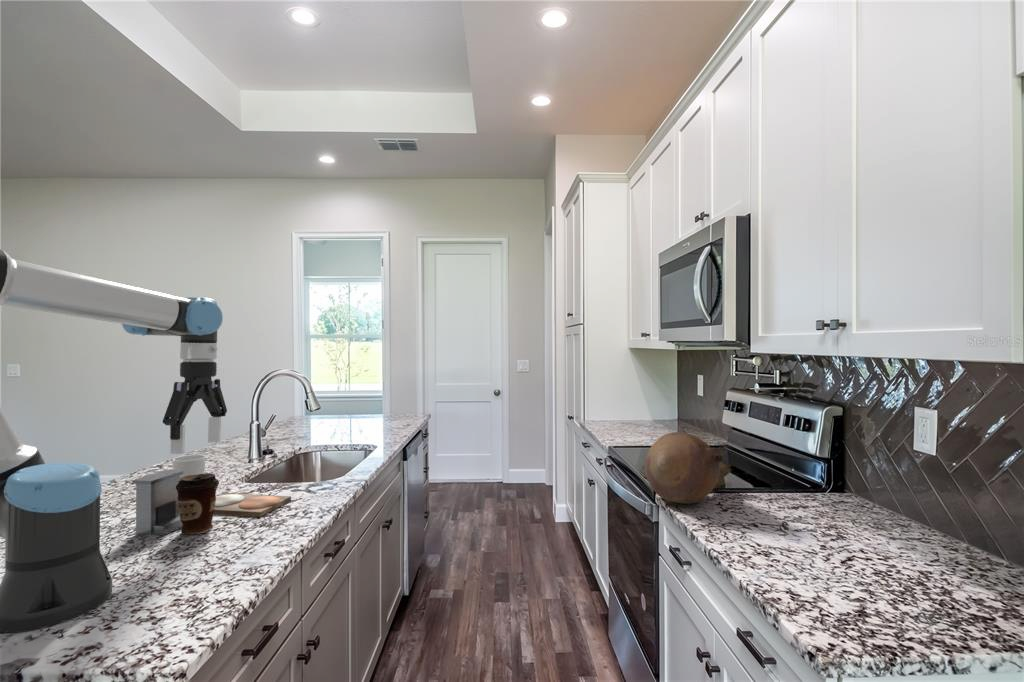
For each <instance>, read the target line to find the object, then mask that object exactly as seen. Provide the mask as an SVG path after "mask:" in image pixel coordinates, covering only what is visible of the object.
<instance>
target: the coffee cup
mask: <svg viewBox="0 0 1024 682" xmlns="http://www.w3.org/2000/svg"><path fill="white" fill-rule="evenodd" d="M219 484H220V480H219V479H218V478H216V474H215V473H211V472H209V473H204V474H198V475H187V476H184V477H182V478H180V481H179V483H178V484H177V485H176V489H177V492H178V505H179V514H180V520H181V522H182V524H183V527H181V528H180V533H181V534H182V535H199V534H202V533H203V534H204V533H208V532H210V531H212V530H213V529H214V526H213V518H214V514H213V513H214V511H215V502H216V496H217V495H216V493H217V488H218V487H219Z"/></svg>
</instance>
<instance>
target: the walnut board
mask: <svg viewBox="0 0 1024 682" xmlns="http://www.w3.org/2000/svg"><path fill="white" fill-rule="evenodd" d="M291 501H292V496H291V495H290V496H289V495H273V494H272V495H271V494H254V493H252V494H251V493H234V492H233V493H232V492H224V493H221V494H219V495H216V502H215V511H214V513H213V515H223V516H239V517H241V516H242V517H257V518H261V517H263V516H266V515H267V514H269V513H271V512H272V511H274V510H276V509H278V508H280V507H282V506H283V505H286V504H287V503H289V502H291Z"/></svg>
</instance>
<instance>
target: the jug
mask: <svg viewBox="0 0 1024 682" xmlns="http://www.w3.org/2000/svg"><path fill="white" fill-rule="evenodd" d="M723 459H724V454H723V450H722V449H720V448H718V447H711V446H710V445H709V444H708V443H707V442H706V441H704V439H701V438H700V437H697V436H695V435H693V434H691V433H686V432H683V431H681V432H680V431H676V432H675V431H674V432H669V433H666V434H664V435H662V436H660V437H659V438H658V439H657V440H656V441H655V442H654V443H653V444H652V445H651V446H650V448H649V450H648V452H647V454H646V457H645V465H644V469H643V470H642V471H641V475H642V478H643V479H644V480H645V479H646V480H647V481H648V484H649V485H650V487H651V489H652V490H653V492H654V493H656V494H657V495H658V497H660V498H662V499H663V500H665V501H668V502H670V503H671V502H672V503H676V504H684V505H685V504H686V505H689V504H695V503H696V504H697V503H699V502H701V501H702V500H704V499H705V498H706V497H707V496H708V495H710V494H711V492H712V491H714V489H716V488H719V487H721V486H724V485H725V477H727V475H729V474H730V473H731V471H732V468H731V467H730V466H729V465H727V464H726V463H724V462H723Z"/></svg>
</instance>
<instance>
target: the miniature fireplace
mask: <svg viewBox="0 0 1024 682" xmlns="http://www.w3.org/2000/svg"><path fill="white" fill-rule="evenodd" d="M182 474H183V471H174V470H171V469H170V470H168V469H166V470H162V471H159V472H155V473H151V474H148V475H145V476H142V477H139V478H135V479H132V485H133V484H134V485H135V509H136V510H135V534H136V535H140V534H142V535H144V536H152V534H153V535H155V534H157V535H158V536H165V535H167V533H168V534H170V533H172V532H174V531H177V530H178V528H179V529H182V527H183V524H182V522H181V520H180V514H179V505H178V492H177V489H176V485H177V484H178V483H179V481H180V475H182ZM169 532H170V533H169ZM157 535H156V536H157Z"/></svg>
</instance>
